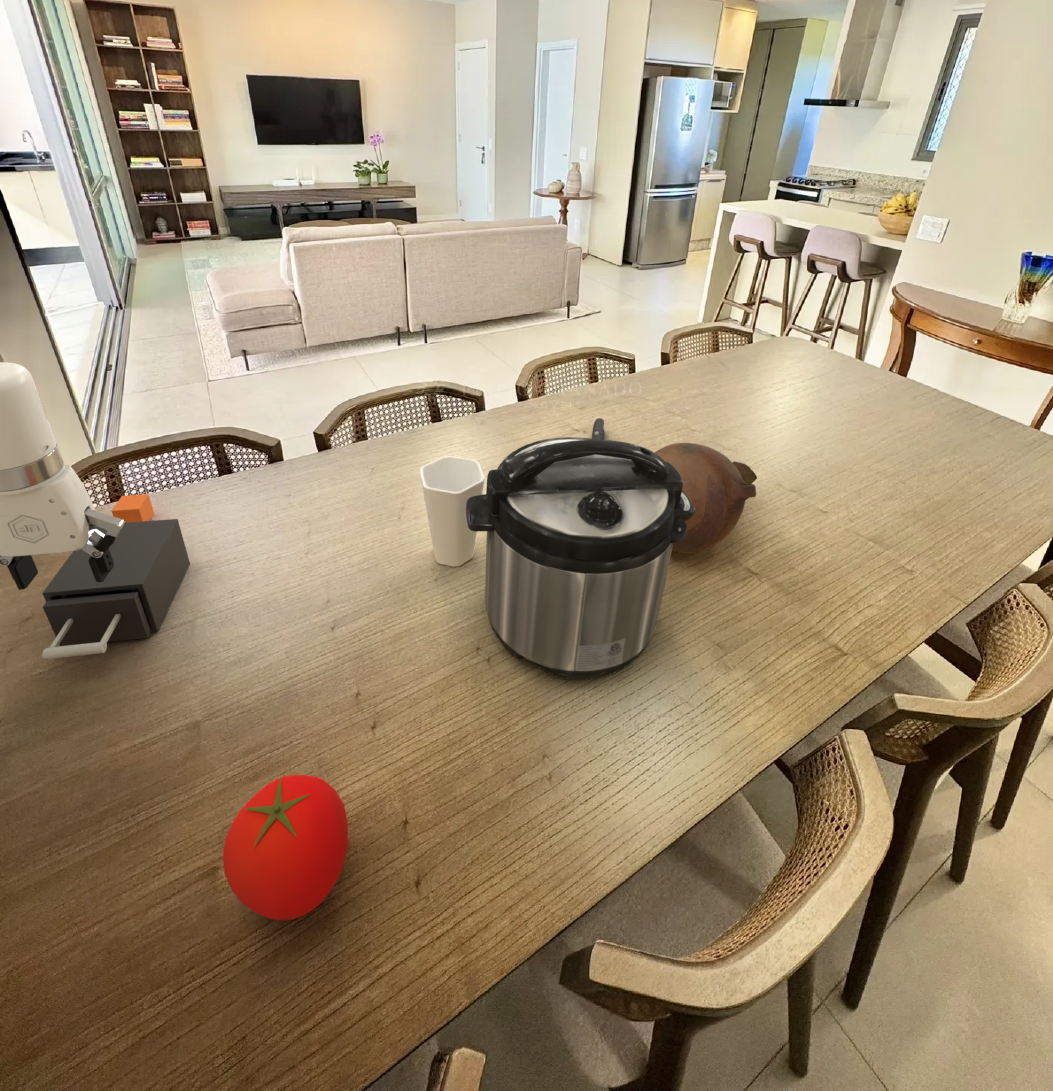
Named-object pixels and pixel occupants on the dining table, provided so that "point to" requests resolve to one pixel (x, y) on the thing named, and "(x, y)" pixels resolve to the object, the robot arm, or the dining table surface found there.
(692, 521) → the jug
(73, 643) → the drawer
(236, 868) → the tomato
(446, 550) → the cup
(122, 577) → the dark grey cabinet
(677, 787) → the dining table surface
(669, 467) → the pressure cooker
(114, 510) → the block
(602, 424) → the can opener
